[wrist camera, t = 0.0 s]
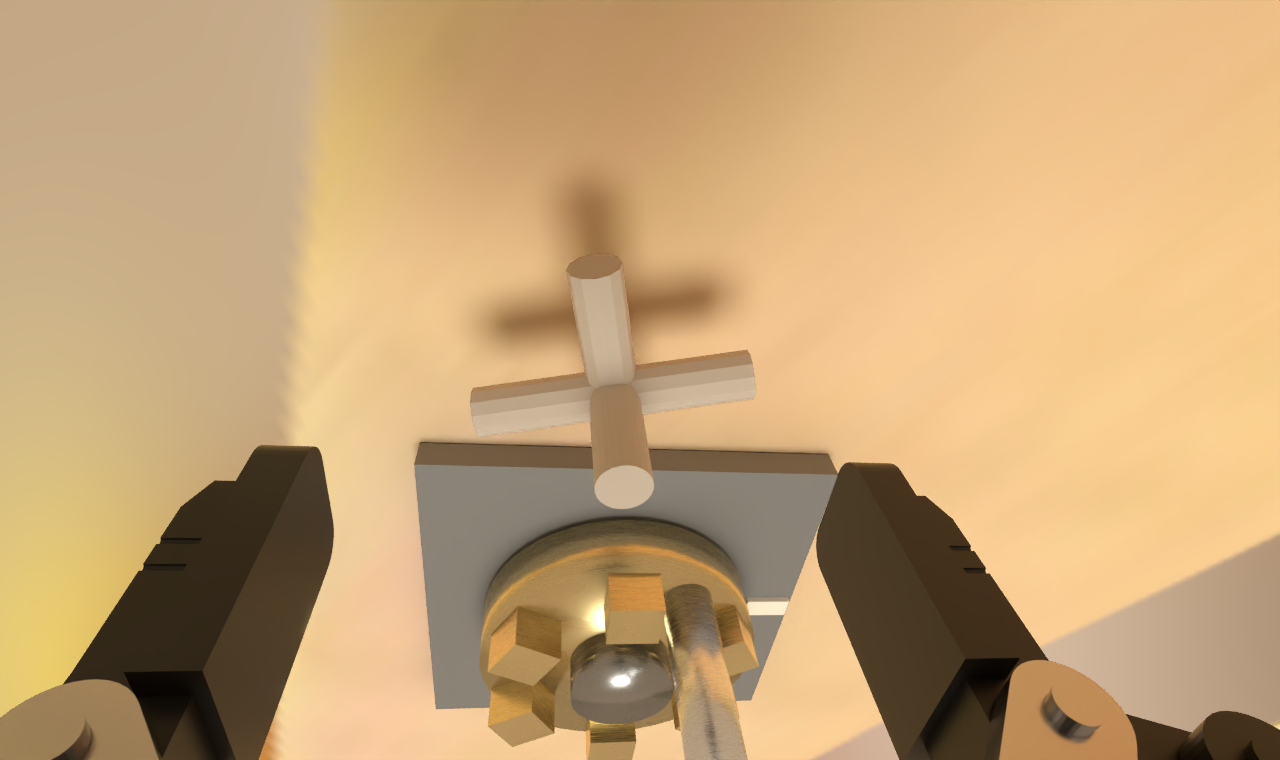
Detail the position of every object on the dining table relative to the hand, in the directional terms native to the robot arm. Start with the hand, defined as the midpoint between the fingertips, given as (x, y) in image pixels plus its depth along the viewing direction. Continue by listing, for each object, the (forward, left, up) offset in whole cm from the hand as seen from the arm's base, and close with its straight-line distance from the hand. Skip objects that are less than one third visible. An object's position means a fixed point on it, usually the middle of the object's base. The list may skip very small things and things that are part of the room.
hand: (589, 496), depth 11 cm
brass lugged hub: (+24, +4, -16) cm, 29 cm away
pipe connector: (+7, +2, -17) cm, 19 cm away
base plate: (+24, +4, -17) cm, 30 cm away
